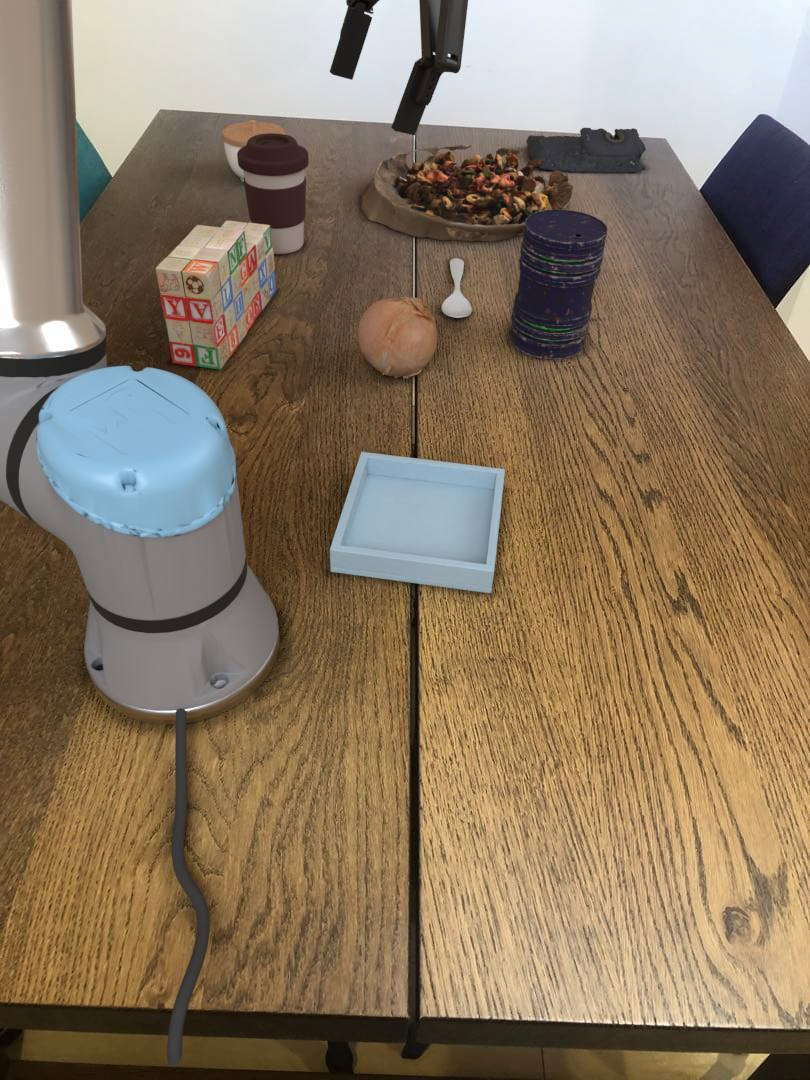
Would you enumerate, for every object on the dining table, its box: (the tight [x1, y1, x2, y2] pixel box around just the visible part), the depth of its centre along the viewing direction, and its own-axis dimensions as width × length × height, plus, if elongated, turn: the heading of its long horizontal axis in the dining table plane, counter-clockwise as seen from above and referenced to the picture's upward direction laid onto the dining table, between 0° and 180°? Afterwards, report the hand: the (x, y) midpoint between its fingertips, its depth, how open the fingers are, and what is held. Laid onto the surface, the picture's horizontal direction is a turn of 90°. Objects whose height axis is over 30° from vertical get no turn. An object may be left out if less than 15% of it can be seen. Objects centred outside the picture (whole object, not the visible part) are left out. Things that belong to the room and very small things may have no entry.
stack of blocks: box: [155, 219, 277, 371], centre depth 102 cm, size 21×6×12 cm, turn 168°
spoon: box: [440, 257, 473, 319], centre depth 114 cm, size 4×21×2 cm, turn 177°
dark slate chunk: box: [525, 127, 647, 174], centre depth 155 cm, size 15×22×5 cm
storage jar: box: [509, 209, 609, 360], centre depth 101 cm, size 10×10×15 cm
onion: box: [356, 296, 438, 380], centre depth 96 cm, size 10×9×10 cm
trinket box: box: [221, 119, 287, 183], centre depth 141 cm, size 11×11×9 cm
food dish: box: [361, 143, 574, 243], centre depth 136 cm, size 35×33×8 cm
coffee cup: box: [237, 133, 310, 255], centre depth 119 cm, size 10×10×15 cm
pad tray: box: [329, 451, 506, 594], centre depth 78 cm, size 15×15×3 cm
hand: (370, 103), depth 89 cm, fingers open, 13 cm apart
